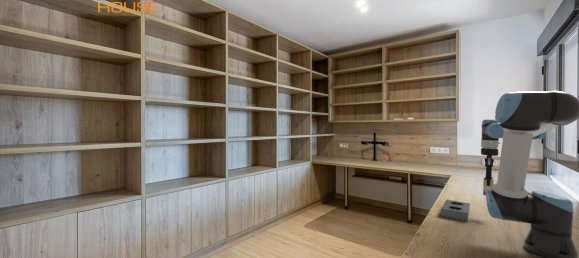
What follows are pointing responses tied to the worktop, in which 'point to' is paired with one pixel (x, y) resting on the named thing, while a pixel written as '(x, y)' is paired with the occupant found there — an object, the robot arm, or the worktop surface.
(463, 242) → the worktop surface
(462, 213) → the block
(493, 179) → the brass sleeve
